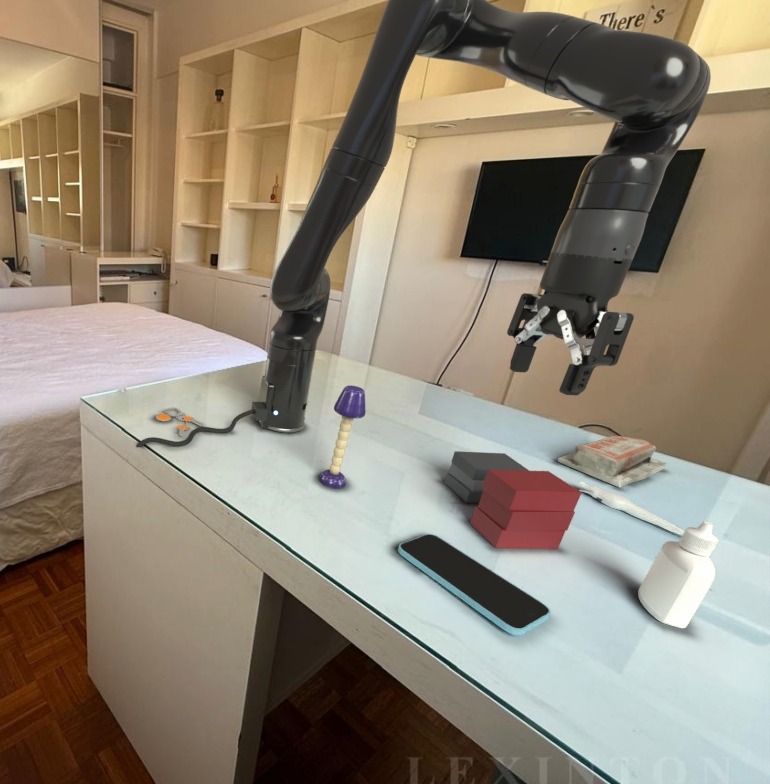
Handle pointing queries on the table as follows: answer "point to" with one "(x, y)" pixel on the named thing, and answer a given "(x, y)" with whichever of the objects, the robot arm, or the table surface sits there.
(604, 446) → the packaged product
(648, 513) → the white toothbrush
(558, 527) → the burgundy book stack
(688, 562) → the eye dropper bottle
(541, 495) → the burgundy paperback
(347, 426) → the toy lamp
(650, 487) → the table surface
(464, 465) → the grey book pile
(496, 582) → the smartphone
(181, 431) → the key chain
